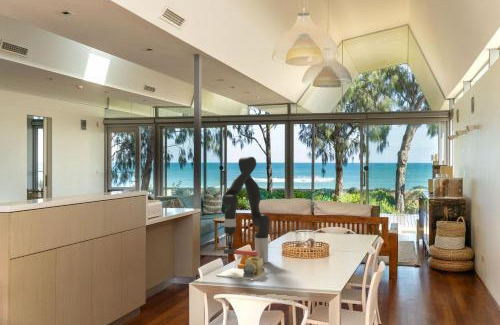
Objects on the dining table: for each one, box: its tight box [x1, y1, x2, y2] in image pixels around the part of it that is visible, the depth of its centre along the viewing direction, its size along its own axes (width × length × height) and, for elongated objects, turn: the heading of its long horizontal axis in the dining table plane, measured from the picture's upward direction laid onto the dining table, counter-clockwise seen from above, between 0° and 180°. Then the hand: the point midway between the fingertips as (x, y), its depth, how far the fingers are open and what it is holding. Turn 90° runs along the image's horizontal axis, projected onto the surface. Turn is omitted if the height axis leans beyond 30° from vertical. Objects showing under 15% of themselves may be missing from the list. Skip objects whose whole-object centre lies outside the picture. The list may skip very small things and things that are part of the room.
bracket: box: [237, 248, 252, 269], centre depth 331 cm, size 11×7×12 cm
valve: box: [243, 256, 265, 278], centre depth 310 cm, size 22×8×11 cm, turn 158°
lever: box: [223, 248, 258, 256], centre depth 314 cm, size 22×4×3 cm, turn 68°
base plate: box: [216, 267, 270, 281], centre depth 312 cm, size 22×26×1 cm
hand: (230, 252), depth 324 cm, fingers closed
